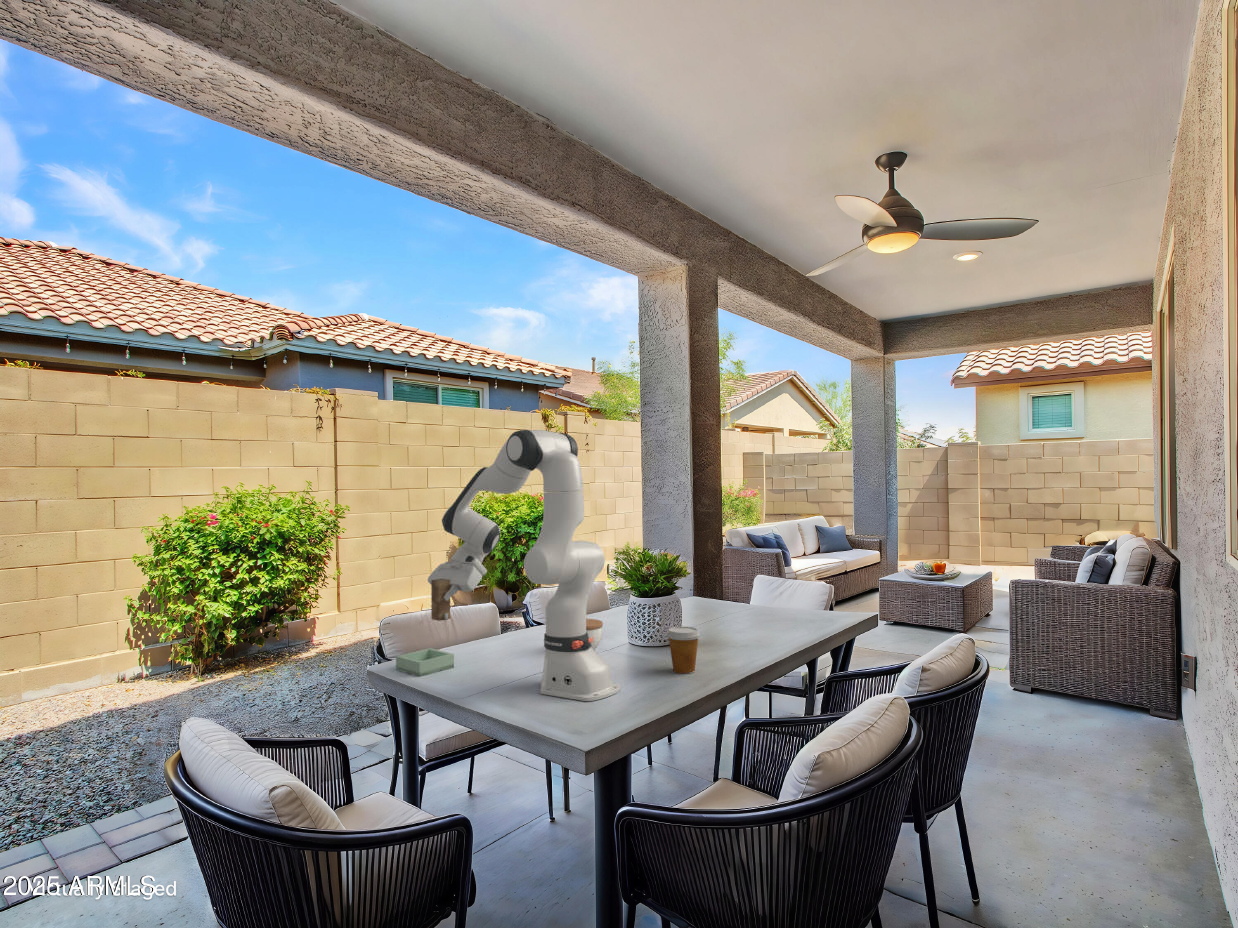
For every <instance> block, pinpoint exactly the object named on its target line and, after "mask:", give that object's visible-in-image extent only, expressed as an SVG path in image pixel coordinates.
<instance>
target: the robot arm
mask: <svg viewBox="0 0 1238 928" xmlns="http://www.w3.org/2000/svg"><path fill="white" fill-rule="evenodd" d="M578 454H579V447H578V444H577V441H576V440H575V438H574V437H572V436H571V435H570V434H567V433H564V432H555V431H550V430H545V429H520V430H516V431H514V432H512V433H511V434H510V435H509V437H508V438H507V440H506V441H505V442H504V444H503V445H502V447H501V449H500V450H499V452H498V454H497V456H496V458H495V460H494V462H493V463H492V464H491V465H489V466H487V467H486V466H485V467H484V466H483V467H482V468H480V469H479V470H478V471H477V472H476V473H475V474H474V475H473V476H472V478H471V479H470V480H469V482H468V483H467V484H466V485H465V486H464V488H463V489H462V491H461V492H460V494H459V495H458V497H457V498H456V499H455V500H454V502H453V504H451V506H449V507H448V508H447V510H446V511H445V512H444V514H443V516H442V518H441V523H442V528H443V529H444V530H443V531H445V532H446V533H449V534H450V535H452V536H455V537H457V538H458V539H461V540H462V541H463V542H464V543H463V544H462V545H461V546H459V547H458V549H456V551H455V553H454V554H453V555H452V557H451V558H450V560H449V561H445V562H444V563H443V562H442V563H440V564H439V565H438V566H437V567H436V568H435V569H434V570H433V571H432V572H431V573H430V575H429V576H428V577H427V582H428V583H429V585H431V580H436V579H449V580H450V582H449V584H450V590H449V591H448V592H447V593H444V594H443V596H442V598H443V600H446V601H448V600H449V599H450V600H451V598H452V597H453V596H454V595H456V594H457V593H458V592H459V591H460V592H467V593H470V592H472V591H474V590H475V588H476V587H477V586H478V585H479V583H480V582H481V580H482V578H483V576H485V575H486V573H487V572H488V570H487V568H485V567H486V566H484V565H483V564H482V563H483V561H484V559H485V557H486V556H488V555H489V554H490V553H492V552H493V551H494V549H495V547H496V546H497V545H498V543H499V542H500V539H501V528H500V526H499V525H498V524H497V523H496V522H495V521H493V520H491V519H489V518H487V517H486V516H483V515H481V514H480V513H479V512H476V510H473V509H472V508H471V507H470V504H471V503H472V502H473V500H474V499H475V497H476V496H477V494H478V493H479V492H481V491H483V492H490V493H496V494H500V495H501V494H502V495H508V494H514V493H516V492H518V491H519V490H521V489H522V488H523V486H524V485H525V484H526V482H527V480H528V478H529V476H530V474H531V472H533V471H534V470H539V471H540V473H541V475H542V478H543V482H542V483H543V484H542V485H543V486H542V487H543V488H542V489H543V491H542V492H543V518H542V524H541V525H542V526H541V528H540V532H539V534H538V537H537V539H536V541H535V543H534V545H533V546H532V547H531V548H530V549H529V550H528V551H527V552H526V554H525V556H524V560H523V570H524V573H525V575H526V577H527V579H528V580H529V581H530V582H532V583H533V584H535V585H537V584H538V585H543V586H544V585H546V586H553V585H558V586H557V589H556V591H555V593H554V595H553V596H552V597H551V598H550V599H549V600H548V601H547V603H546V606H545V632H544V636H543V637H544V639H543V647H544V648H545V655H544V659H543V660H544V661H543V668H542V669H543V670H542V676H541V680H540V684H539V687H540V691H539V693H540V694H542V695H548V696H553V697H560V698H564V699H565V698H566V699H571V700H577V701H582V702H583V701H584V702H591V701H592V702H593V701H598V700H601V699H606V698H608V697H611V696H613V695H615V694H617V693H618V692H619V691H621V684H619V683H617V682H615V681H613V679H612V672H611V668H610V666H609V664H608V663H607V662H606V661H605V660H604V659H603V658H602V657H601V656H600V655H599V654H598V653H597V652H596V650H593V649H592V648H591V642H594V641H591V640H592V639H594V637H593V638H589V636H588V633H587V632H586V619H587V607H588V606H587V605H588V599H589V597H590V592H591V589H592V586H593V584H594V582H595V581H596V578H597V577H598V576H599V574H600V573H601V572H602V570H604V566H605V559H606V558H605V553H604V551H603V549H602V547H601V546H600V545H599V544H597V543H595V542H593V541H592V542H591V541H587V540H574V541H572V540H573V536H574V533H575V531H576V529H577V527H579V526H580V525H581V524H582V523H583V522H584V519H585V503H584V502H585V501H584V481H583V473H582V468H581V463H580V460H579V458H578Z"/></svg>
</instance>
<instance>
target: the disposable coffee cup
mask: <svg viewBox="0 0 1238 928" xmlns="http://www.w3.org/2000/svg"><path fill="white" fill-rule="evenodd" d="M666 635H667V636H668V637H667V638H668V641H669V649H670V655H671V663H672V671H673V672H674V671H675V672H674V673H676V672H677V673H676V674H680V673H689V674H691V673H690V672H693V671H696V661H697V654H698V645H699V644H698V642H699V638H700V635H701V634H700V631H699V629H698V628H696V627H692V626H673V627H670V628H669V629H668V631H667V634H666ZM693 673H694V672H693Z"/></svg>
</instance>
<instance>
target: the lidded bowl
mask: <svg viewBox="0 0 1238 928" xmlns="http://www.w3.org/2000/svg"><path fill="white" fill-rule="evenodd" d="M603 625H604V623H603V621H602V620H599V619H597V618H596V619H595V618H586V632H587V633H588V636H589V638H593V637H594V639H592V640H591V641H594V642H591V648H592V649H593V650H594V651H596V648H597V647H598V646H600V645H599V644H601V640H602V637H603Z"/></svg>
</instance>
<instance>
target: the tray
mask: <svg viewBox="0 0 1238 928" xmlns="http://www.w3.org/2000/svg"><path fill="white" fill-rule="evenodd" d="M454 654H455V653H451V652H449V651H448V652H447V651H443V650H439V649H435V648H431V647H429V648H426V649H421V650H418V651H413V652H409V653H405V654H399V655H396V656H395V670H397V671H400V672H402V671H403V672H402V673H406V674H410V675H412V674H413V676H417V677H424V676H427V675H430V674H436V673H438V672H437V671H439V672H441V671H440V670H442V671H444V670H443V669H446V670H449V669H448V668H450V669H452V668H451V667H453V668H455V661H454V660H455V655H454Z"/></svg>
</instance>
